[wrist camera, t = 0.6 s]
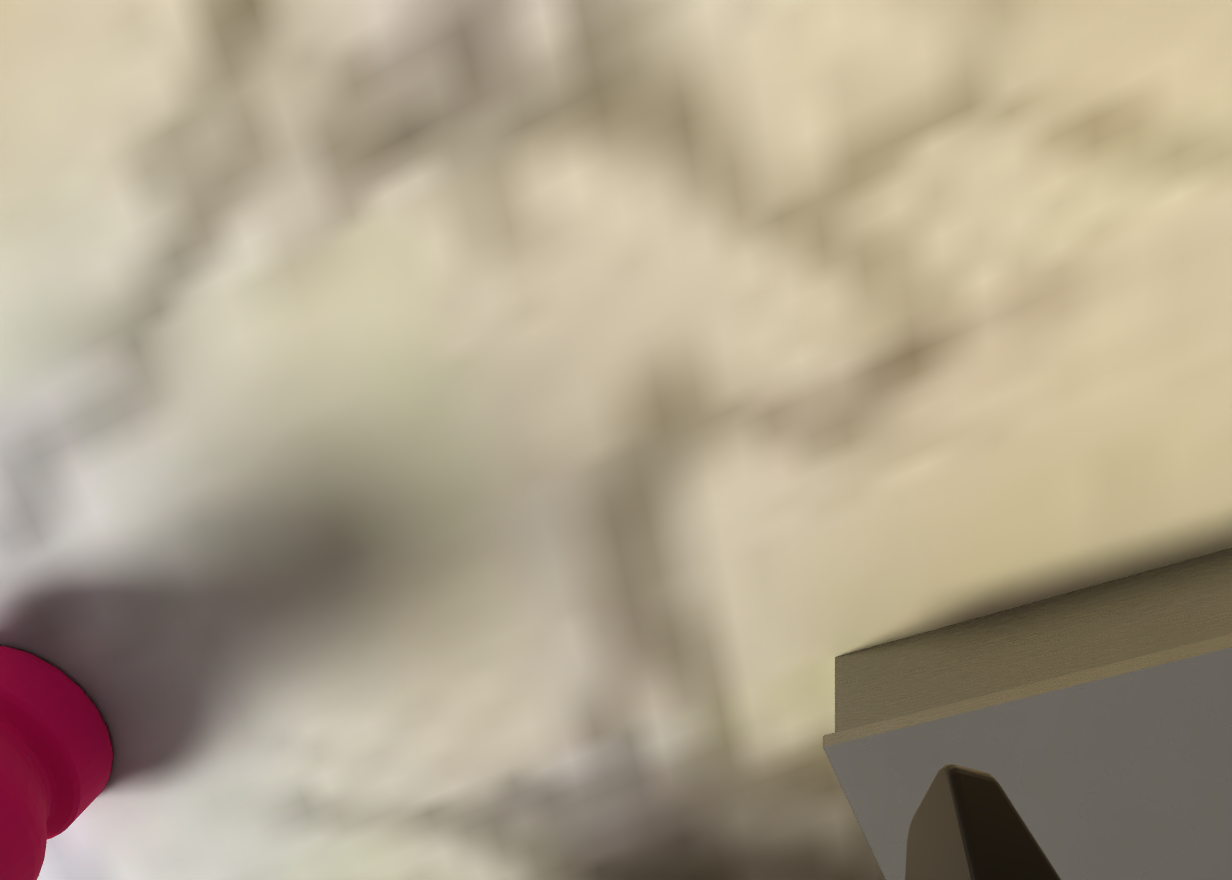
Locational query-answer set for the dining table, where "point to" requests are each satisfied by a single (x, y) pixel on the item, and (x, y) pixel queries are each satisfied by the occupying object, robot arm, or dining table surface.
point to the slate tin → (1061, 724)
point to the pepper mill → (44, 759)
